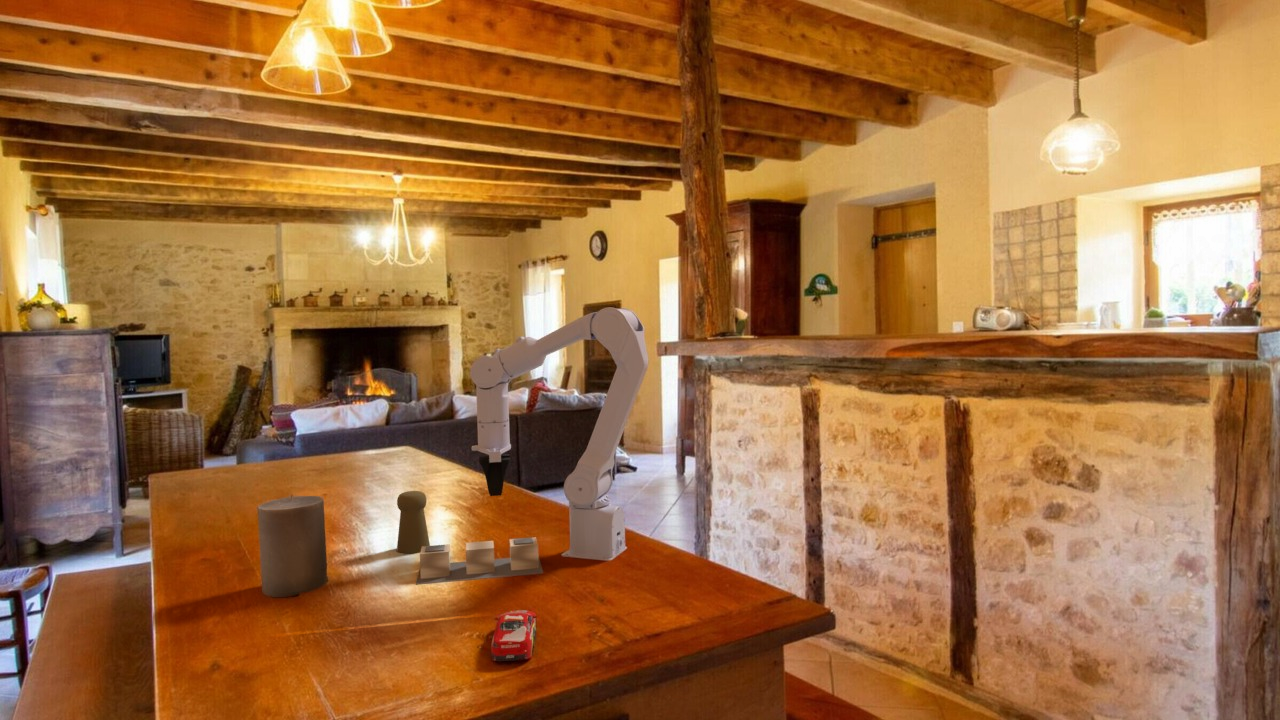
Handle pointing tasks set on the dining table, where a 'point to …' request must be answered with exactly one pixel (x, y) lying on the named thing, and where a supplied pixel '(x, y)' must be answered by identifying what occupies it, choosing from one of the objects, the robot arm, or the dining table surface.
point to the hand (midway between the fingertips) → (495, 495)
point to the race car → (514, 636)
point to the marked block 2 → (524, 553)
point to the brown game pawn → (412, 522)
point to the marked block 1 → (435, 561)
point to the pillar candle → (292, 545)
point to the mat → (460, 573)
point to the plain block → (480, 557)
